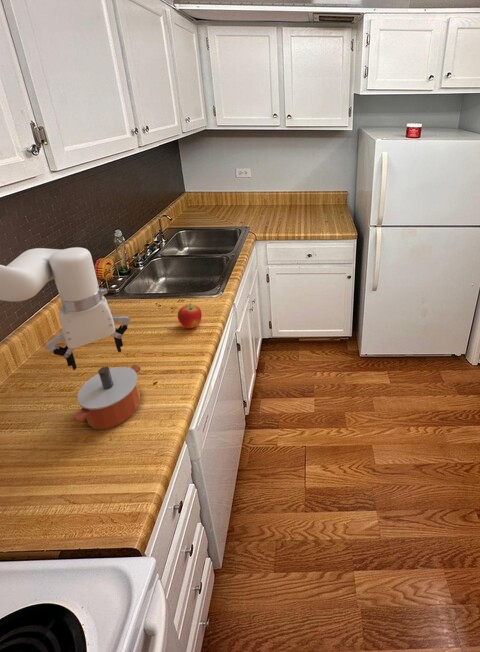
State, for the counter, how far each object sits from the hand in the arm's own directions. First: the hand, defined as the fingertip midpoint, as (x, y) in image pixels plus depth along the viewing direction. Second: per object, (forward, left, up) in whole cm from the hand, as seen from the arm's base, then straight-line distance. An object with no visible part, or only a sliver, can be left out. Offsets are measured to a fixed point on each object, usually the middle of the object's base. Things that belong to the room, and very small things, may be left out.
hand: (97, 357), depth 84 cm
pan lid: (0, 0, -10) cm, 10 cm away
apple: (-4, +36, -18) cm, 41 cm away
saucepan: (0, 0, -18) cm, 18 cm away
